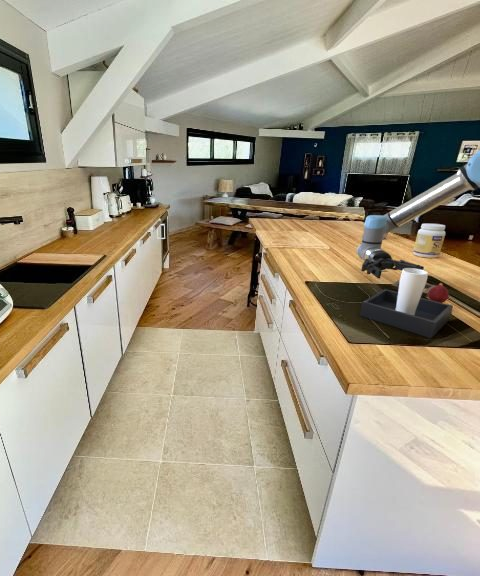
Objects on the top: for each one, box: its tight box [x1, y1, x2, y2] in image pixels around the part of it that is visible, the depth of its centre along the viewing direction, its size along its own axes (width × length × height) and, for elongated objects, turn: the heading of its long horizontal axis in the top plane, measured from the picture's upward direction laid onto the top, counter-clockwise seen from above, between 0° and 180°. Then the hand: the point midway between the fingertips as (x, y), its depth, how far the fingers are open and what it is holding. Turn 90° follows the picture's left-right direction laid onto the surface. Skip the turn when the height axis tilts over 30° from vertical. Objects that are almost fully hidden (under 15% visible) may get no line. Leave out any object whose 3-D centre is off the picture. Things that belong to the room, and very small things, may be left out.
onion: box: [427, 282, 450, 303], centre depth 110 cm, size 6×6×8 cm
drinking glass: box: [395, 268, 429, 315], centre depth 99 cm, size 7×7×15 cm
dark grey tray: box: [359, 288, 454, 339], centre depth 101 cm, size 20×18×5 cm
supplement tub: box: [412, 223, 446, 259], centre depth 170 cm, size 12×12×17 cm
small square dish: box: [389, 279, 437, 298], centre depth 126 cm, size 12×12×2 cm
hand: (401, 275), depth 105 cm, fingers open, 13 cm apart
